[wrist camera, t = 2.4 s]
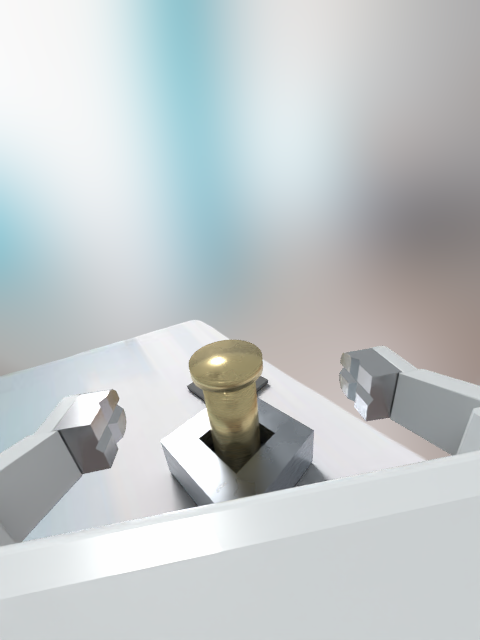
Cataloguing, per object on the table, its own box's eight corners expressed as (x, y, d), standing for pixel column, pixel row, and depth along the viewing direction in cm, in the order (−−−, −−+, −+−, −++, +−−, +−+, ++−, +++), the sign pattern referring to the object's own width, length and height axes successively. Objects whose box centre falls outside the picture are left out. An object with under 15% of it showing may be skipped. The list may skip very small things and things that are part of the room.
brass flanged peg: (239, 499, 23) (222, 393, 18) (197, 457, 28) (174, 361, 22) (280, 451, 28) (277, 353, 22) (238, 421, 32) (227, 333, 27)
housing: (241, 560, 21) (235, 527, 19) (169, 470, 29) (160, 441, 27) (312, 461, 28) (313, 430, 26) (240, 412, 36) (236, 385, 34)
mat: (225, 416, 36) (225, 413, 35) (187, 388, 42) (187, 385, 42) (267, 382, 42) (267, 379, 42) (229, 362, 49) (228, 360, 48)
